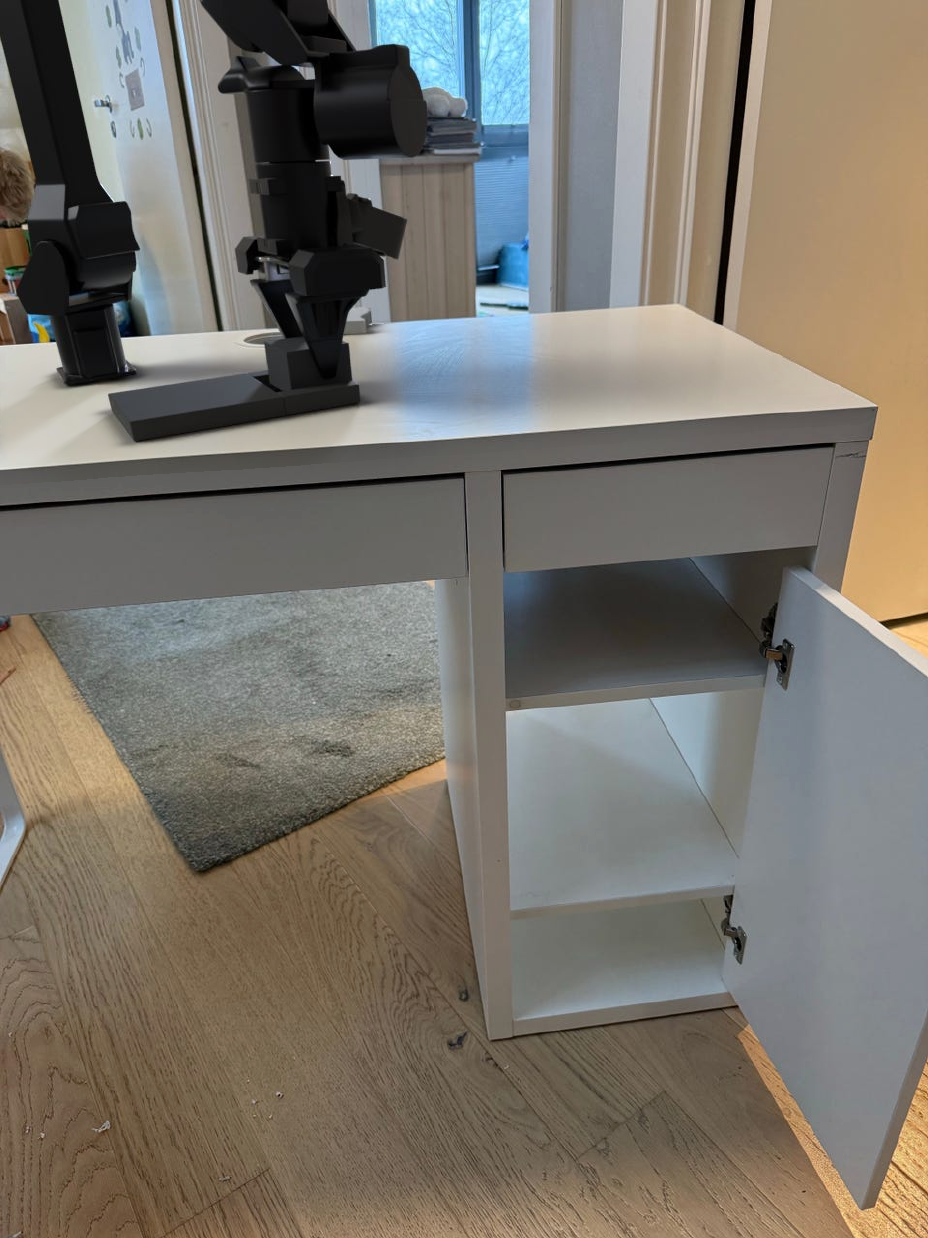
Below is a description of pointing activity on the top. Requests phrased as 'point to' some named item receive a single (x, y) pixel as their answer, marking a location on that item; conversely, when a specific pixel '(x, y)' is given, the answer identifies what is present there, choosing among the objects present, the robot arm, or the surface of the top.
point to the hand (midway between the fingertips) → (316, 371)
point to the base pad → (220, 403)
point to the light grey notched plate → (358, 320)
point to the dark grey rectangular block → (300, 365)
